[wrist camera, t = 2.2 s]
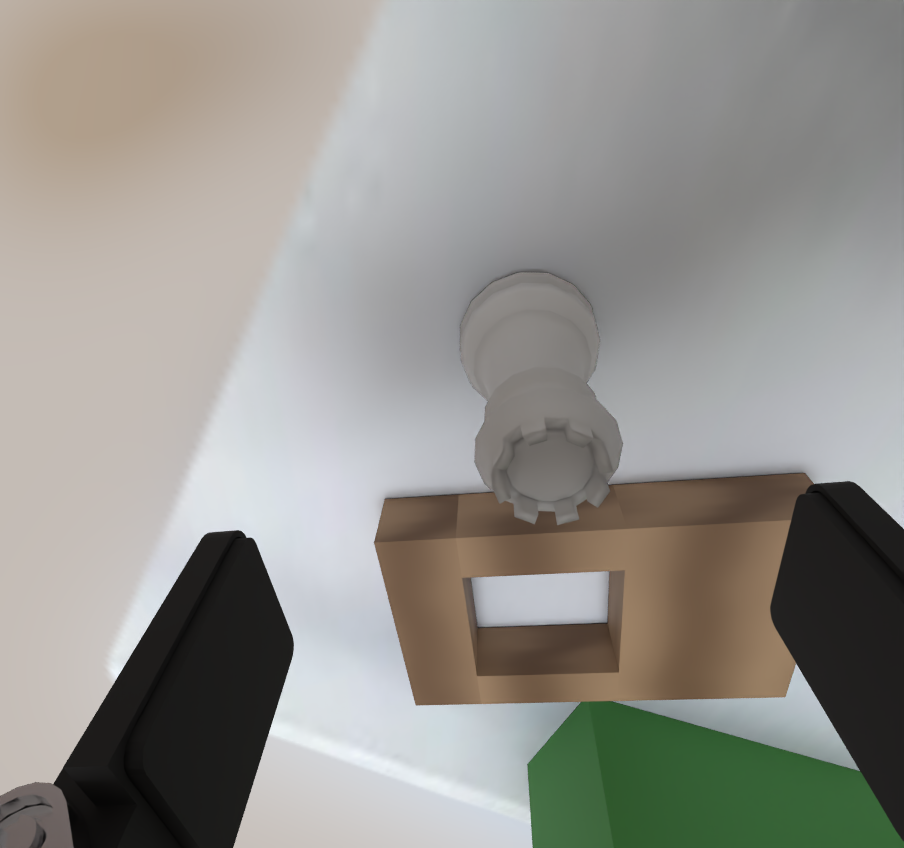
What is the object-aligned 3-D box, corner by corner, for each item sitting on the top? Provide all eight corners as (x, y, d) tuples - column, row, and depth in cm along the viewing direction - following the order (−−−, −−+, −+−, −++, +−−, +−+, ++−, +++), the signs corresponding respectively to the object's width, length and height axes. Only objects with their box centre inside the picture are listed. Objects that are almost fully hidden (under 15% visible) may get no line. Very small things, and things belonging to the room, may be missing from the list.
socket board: (805, 473, 20) (842, 517, 18) (759, 646, 26) (785, 697, 23) (384, 499, 22) (374, 542, 20) (421, 657, 27) (415, 705, 25)
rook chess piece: (598, 384, 19) (662, 547, 12) (471, 401, 20) (464, 566, 13) (590, 255, 17) (664, 367, 10) (447, 279, 17) (424, 400, 11)
